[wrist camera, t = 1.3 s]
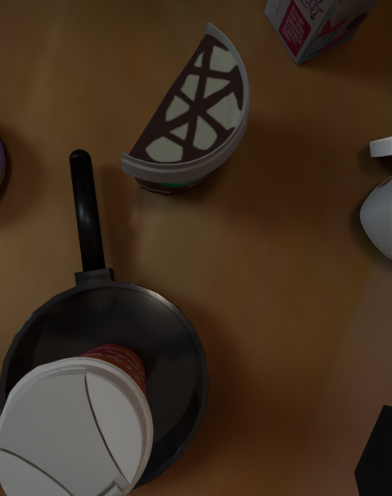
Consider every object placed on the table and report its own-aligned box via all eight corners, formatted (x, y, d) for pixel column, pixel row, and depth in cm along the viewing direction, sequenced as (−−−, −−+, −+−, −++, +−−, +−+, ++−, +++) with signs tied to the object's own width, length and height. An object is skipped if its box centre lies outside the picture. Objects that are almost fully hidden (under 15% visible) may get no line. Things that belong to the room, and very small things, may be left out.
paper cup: (175, 382, 31) (185, 454, 17) (103, 444, 30) (51, 576, 16) (119, 311, 31) (84, 326, 17) (46, 370, 30) (-55, 436, 16)
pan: (6, 297, 31) (-11, 298, 28) (188, 269, 32) (191, 267, 30) (25, 493, 29) (10, 516, 26) (217, 452, 31) (223, 470, 28)
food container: (188, 233, 33) (200, 208, 23) (131, 200, 33) (117, 160, 23) (251, 126, 35) (287, 61, 25) (197, 94, 35) (211, 15, 25)
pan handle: (65, 156, 32) (59, 147, 30) (97, 152, 32) (93, 143, 30) (81, 288, 30) (76, 287, 28) (114, 282, 31) (111, 282, 29)
